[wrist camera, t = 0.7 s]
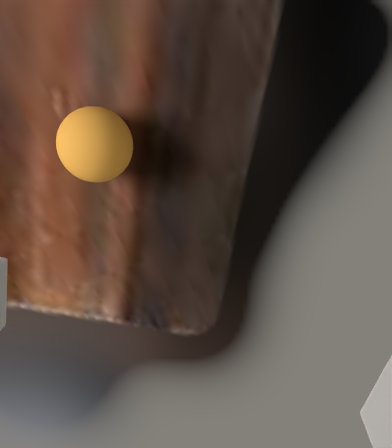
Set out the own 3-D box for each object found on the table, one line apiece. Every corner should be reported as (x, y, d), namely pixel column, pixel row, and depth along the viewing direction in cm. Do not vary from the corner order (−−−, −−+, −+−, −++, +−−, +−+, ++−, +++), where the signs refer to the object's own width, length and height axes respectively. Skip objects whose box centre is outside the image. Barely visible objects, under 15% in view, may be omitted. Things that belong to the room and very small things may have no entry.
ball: (78, 96, 29) (44, 99, 24) (146, 113, 29) (127, 119, 24) (71, 164, 31) (39, 180, 26) (134, 179, 31) (115, 199, 26)
